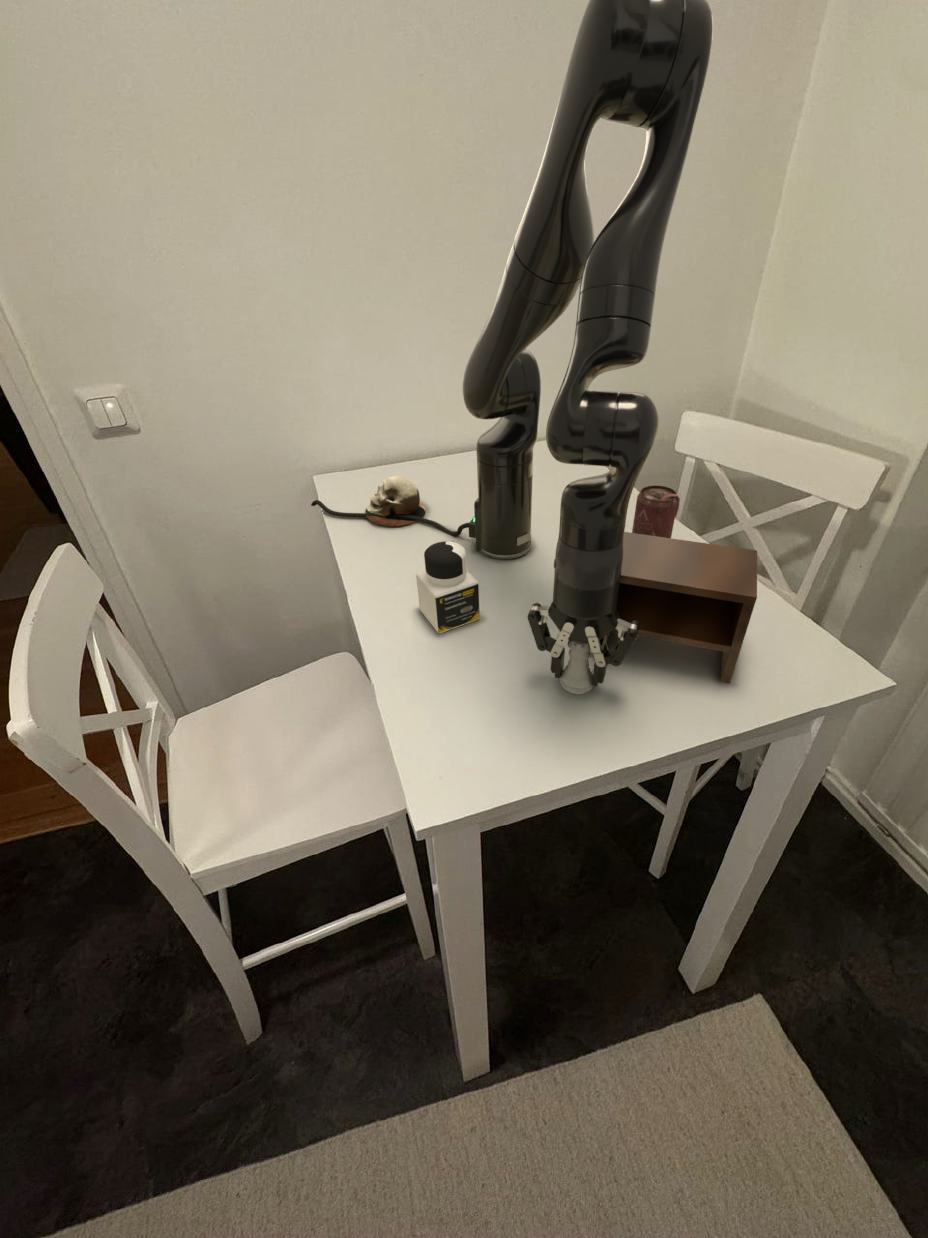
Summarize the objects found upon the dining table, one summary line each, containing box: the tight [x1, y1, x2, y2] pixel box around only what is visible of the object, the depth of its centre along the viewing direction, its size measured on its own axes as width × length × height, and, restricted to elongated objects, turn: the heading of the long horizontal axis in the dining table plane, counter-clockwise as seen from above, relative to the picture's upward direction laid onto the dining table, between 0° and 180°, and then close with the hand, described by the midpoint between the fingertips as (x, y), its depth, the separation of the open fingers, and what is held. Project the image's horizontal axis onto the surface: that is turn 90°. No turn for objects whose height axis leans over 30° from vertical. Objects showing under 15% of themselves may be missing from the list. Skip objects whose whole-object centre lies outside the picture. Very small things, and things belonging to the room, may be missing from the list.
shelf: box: [606, 531, 758, 684], centre depth 82 cm, size 18×11×14 cm, turn 69°
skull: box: [364, 475, 426, 527], centre depth 120 cm, size 12×10×10 cm
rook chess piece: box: [559, 640, 594, 695], centre depth 78 cm, size 4×4×8 cm
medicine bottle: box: [415, 541, 481, 634], centre depth 90 cm, size 7×7×12 cm
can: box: [631, 484, 681, 538], centre depth 97 cm, size 6×6×14 cm
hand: (577, 677), depth 80 cm, fingers closed on rook chess piece, 4 cm apart
